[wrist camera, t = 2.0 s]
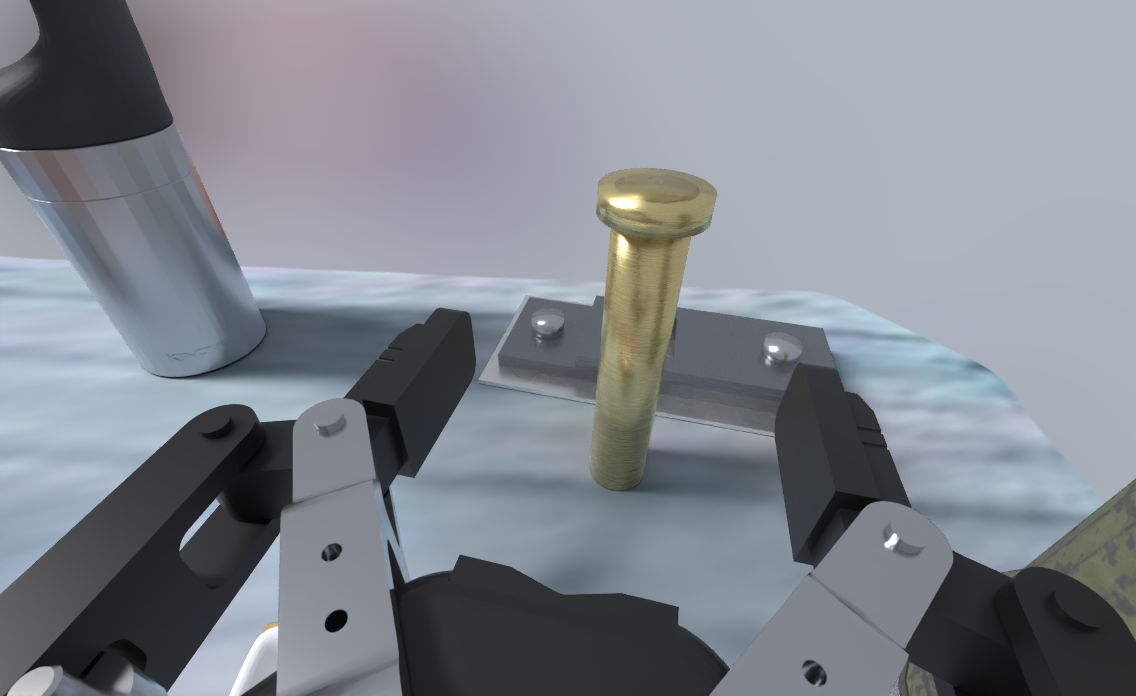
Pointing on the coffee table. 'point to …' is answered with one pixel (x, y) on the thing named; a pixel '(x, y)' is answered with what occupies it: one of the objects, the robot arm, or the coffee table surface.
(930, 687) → the thermos
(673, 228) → the brass pin
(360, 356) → the coffee table surface
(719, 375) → the bolted mounting plate
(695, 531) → the coffee table surface
